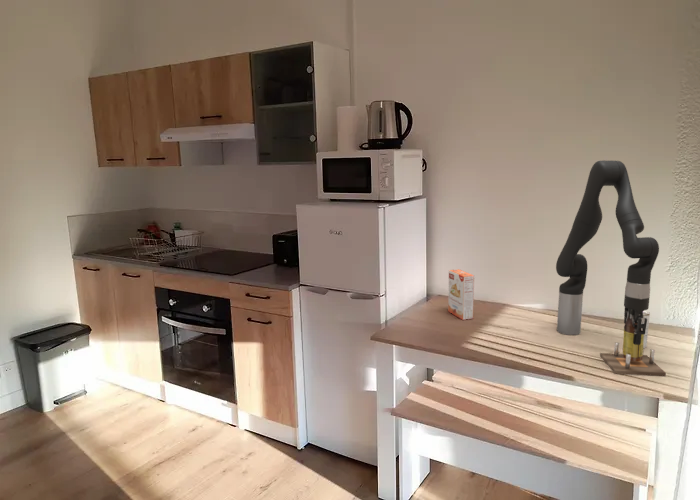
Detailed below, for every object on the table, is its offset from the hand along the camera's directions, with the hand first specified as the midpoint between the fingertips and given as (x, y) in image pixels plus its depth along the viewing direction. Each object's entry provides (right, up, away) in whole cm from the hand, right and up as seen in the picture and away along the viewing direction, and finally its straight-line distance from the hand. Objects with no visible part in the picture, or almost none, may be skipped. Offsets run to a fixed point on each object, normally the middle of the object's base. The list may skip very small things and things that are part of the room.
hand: (633, 340), depth 181 cm
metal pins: (+2, -8, +1) cm, 8 cm away
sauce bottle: (0, -7, +1) cm, 7 cm away
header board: (0, -9, +1) cm, 9 cm away
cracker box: (-47, +1, +62) cm, 78 cm away
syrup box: (+12, -6, +20) cm, 24 cm away
